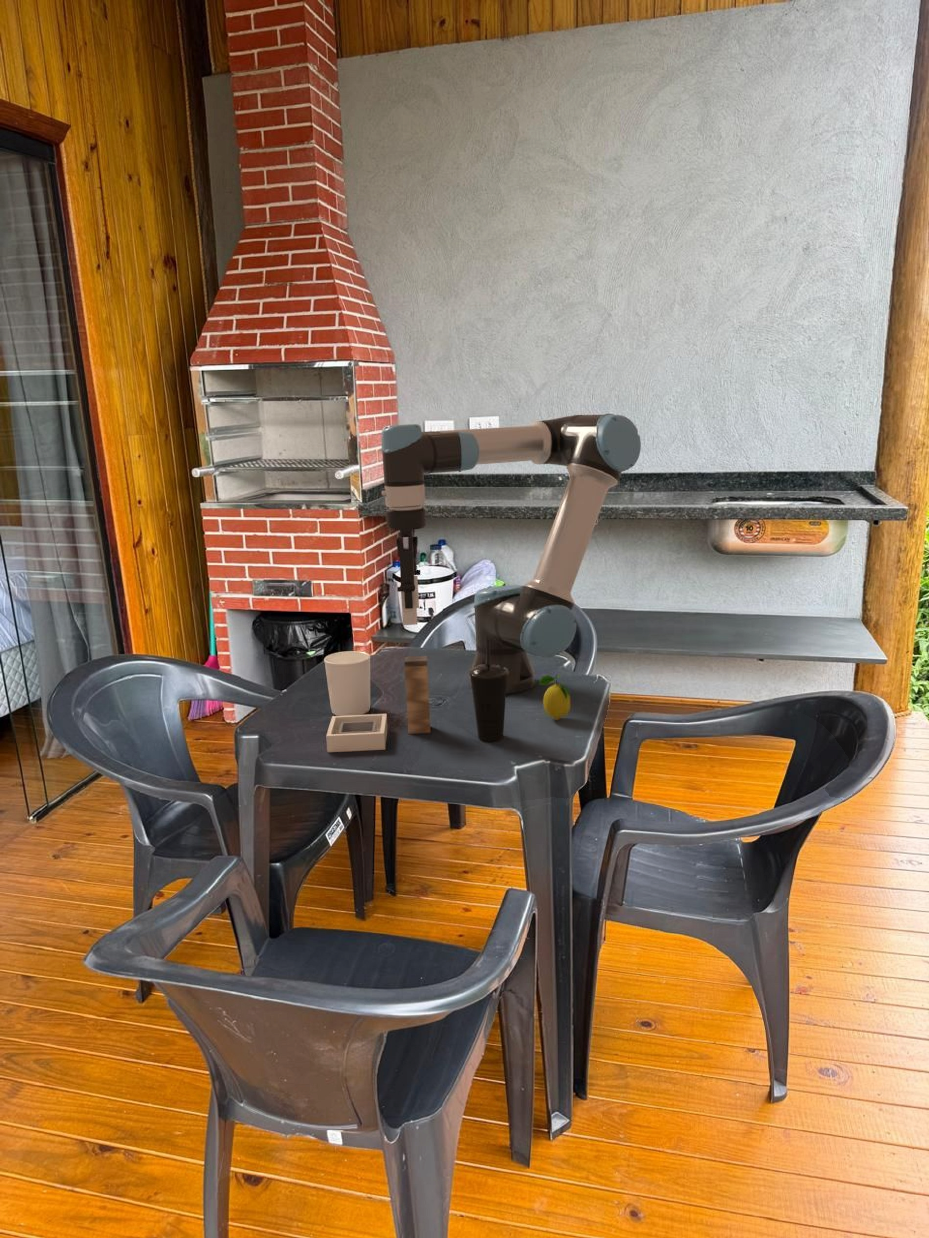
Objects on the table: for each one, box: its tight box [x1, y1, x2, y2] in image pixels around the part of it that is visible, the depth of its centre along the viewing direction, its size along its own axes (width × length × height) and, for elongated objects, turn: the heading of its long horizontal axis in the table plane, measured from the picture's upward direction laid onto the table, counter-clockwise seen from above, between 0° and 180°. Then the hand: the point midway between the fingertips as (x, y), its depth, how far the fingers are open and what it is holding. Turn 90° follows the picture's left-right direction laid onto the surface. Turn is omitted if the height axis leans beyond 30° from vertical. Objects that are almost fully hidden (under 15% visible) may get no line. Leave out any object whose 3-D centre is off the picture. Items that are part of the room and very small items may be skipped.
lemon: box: [538, 673, 572, 721], centre depth 180 cm, size 7×6×10 cm
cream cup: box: [323, 650, 371, 716], centre depth 190 cm, size 10×10×12 cm
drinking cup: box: [468, 639, 508, 743], centre depth 171 cm, size 8×8×20 cm
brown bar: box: [403, 655, 431, 735], centre depth 177 cm, size 4×4×15 cm
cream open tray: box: [325, 713, 389, 753], centre depth 174 cm, size 11×11×3 cm
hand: (411, 616), depth 173 cm, fingers open, 13 cm apart
